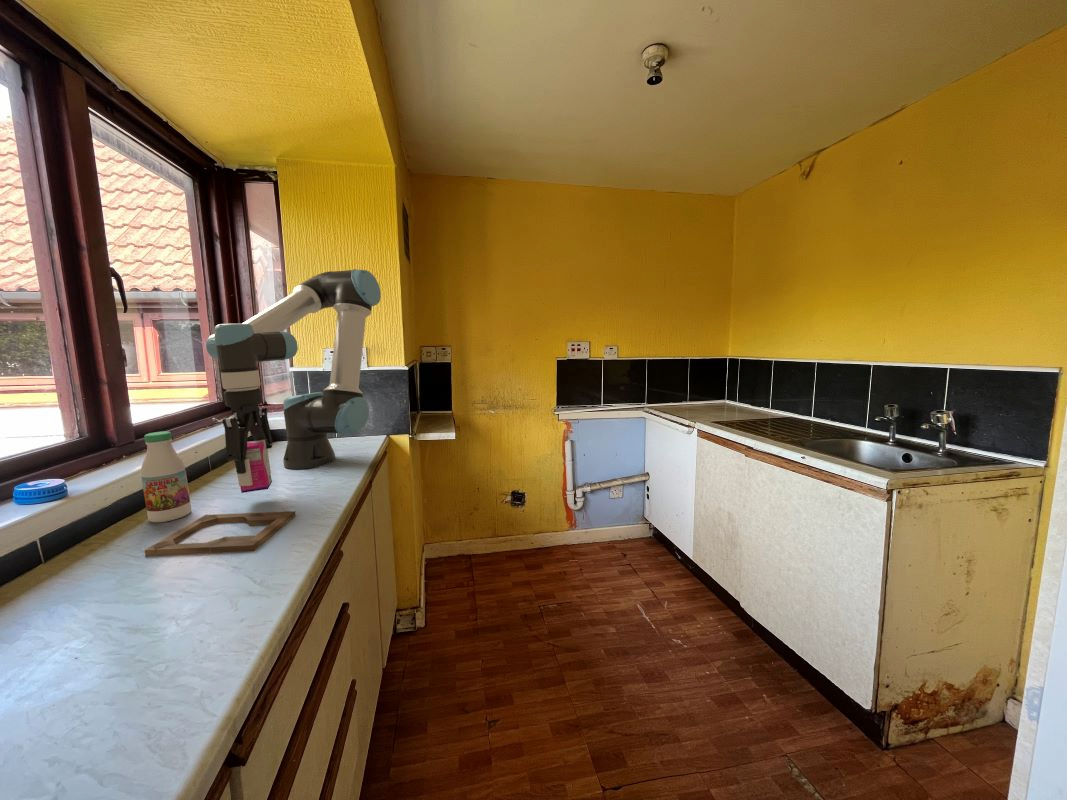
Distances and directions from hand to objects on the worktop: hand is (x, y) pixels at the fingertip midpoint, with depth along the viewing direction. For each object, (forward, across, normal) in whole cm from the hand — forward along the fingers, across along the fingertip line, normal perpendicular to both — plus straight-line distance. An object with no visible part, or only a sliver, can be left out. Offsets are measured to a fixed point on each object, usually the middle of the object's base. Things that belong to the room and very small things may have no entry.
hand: (255, 479), depth 104 cm
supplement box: (+2, 0, 0) cm, 2 cm away
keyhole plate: (+6, +18, +4) cm, 19 cm away
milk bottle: (+6, +7, -16) cm, 19 cm away
